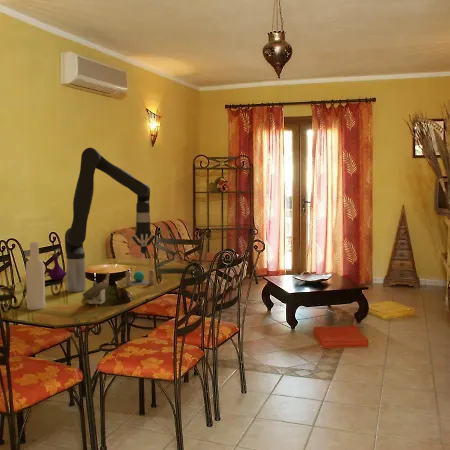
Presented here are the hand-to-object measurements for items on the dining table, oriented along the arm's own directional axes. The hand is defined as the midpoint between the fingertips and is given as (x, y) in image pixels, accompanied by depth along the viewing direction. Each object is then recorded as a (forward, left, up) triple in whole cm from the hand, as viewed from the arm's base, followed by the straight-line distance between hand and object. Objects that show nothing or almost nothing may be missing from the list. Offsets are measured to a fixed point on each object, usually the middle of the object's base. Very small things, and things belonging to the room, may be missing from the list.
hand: (143, 253), depth 279 cm
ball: (+2, +19, -16) cm, 25 cm away
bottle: (-56, -21, -19) cm, 63 cm away
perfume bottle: (-40, +43, -19) cm, 62 cm away
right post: (+7, +8, -19) cm, 22 cm away
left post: (-6, +8, -19) cm, 22 cm away
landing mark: (0, +16, -19) cm, 25 cm away
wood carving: (-28, -20, -19) cm, 39 cm away
